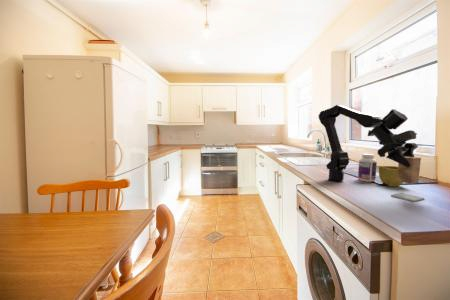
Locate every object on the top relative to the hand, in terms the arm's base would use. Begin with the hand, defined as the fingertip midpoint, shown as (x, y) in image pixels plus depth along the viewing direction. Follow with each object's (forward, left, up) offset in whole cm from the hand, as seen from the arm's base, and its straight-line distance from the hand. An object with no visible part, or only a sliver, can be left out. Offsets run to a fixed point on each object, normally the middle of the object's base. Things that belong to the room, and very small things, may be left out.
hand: (413, 166), depth 88 cm
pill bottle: (-18, +27, -14) cm, 35 cm away
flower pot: (-7, +24, -14) cm, 28 cm away
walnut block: (-1, +1, -7) cm, 7 cm away
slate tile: (-1, +2, -13) cm, 13 cm away
